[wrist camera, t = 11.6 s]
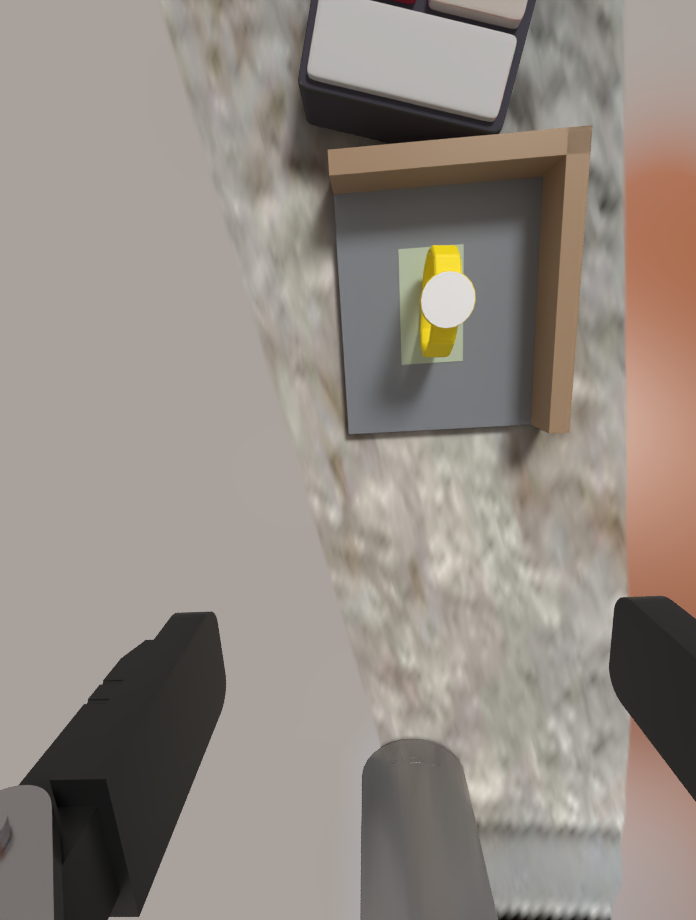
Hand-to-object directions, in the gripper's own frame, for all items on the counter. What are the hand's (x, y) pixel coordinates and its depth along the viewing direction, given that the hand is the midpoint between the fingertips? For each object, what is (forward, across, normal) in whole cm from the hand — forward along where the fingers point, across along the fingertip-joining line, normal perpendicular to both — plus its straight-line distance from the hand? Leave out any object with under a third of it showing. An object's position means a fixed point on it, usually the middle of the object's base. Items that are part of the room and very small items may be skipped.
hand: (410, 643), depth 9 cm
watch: (+21, -4, -9) cm, 23 cm away
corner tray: (+22, -5, -9) cm, 24 cm away
